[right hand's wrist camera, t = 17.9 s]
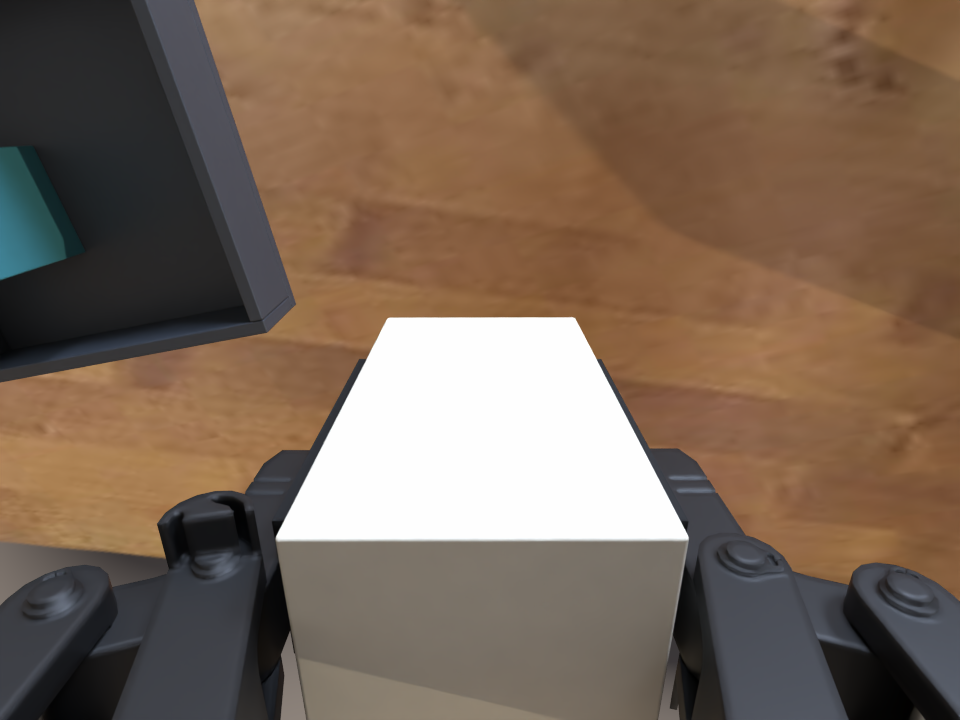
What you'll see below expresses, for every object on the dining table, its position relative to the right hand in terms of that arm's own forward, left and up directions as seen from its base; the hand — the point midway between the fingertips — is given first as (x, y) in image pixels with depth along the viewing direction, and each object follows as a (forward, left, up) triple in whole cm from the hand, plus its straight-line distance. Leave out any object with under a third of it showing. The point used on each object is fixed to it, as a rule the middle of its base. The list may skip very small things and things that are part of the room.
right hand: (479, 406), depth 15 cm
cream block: (0, 0, 0) cm, 0 cm away
